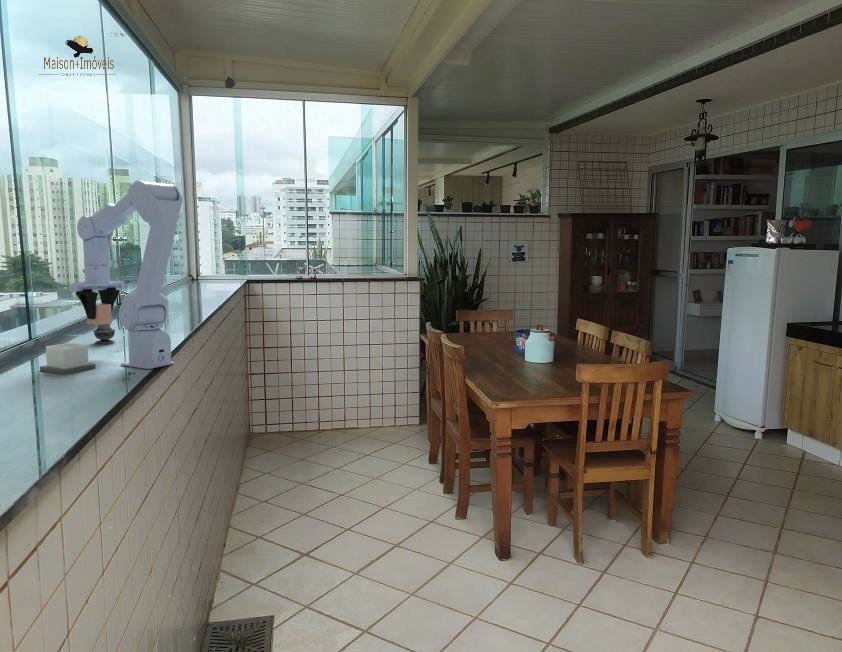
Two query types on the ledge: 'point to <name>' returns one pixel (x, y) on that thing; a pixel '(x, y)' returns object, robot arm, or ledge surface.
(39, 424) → the ledge surface
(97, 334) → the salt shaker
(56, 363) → the tower base
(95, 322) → the terracotta brick
